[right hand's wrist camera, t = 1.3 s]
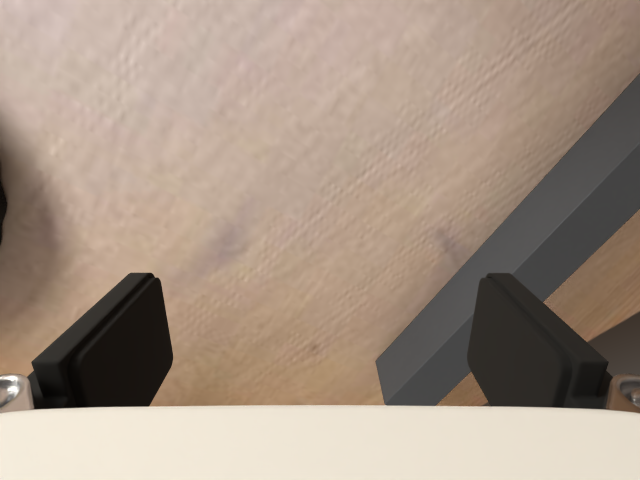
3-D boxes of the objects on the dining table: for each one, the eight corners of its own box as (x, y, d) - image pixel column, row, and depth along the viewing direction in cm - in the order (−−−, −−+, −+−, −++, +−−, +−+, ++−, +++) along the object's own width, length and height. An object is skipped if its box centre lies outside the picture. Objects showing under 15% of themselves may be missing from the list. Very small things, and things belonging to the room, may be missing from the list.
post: (894, -205, 27) (1069, -298, 21) (924, -159, 28) (1100, -235, 21) (375, 361, 44) (384, 404, 38) (403, 378, 45) (417, 423, 39)
